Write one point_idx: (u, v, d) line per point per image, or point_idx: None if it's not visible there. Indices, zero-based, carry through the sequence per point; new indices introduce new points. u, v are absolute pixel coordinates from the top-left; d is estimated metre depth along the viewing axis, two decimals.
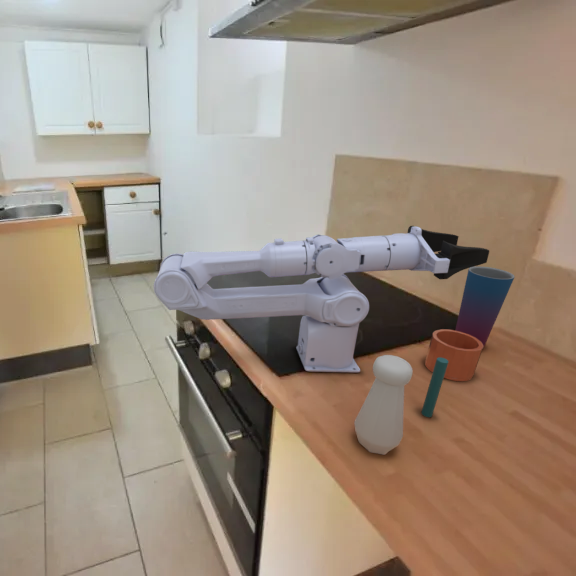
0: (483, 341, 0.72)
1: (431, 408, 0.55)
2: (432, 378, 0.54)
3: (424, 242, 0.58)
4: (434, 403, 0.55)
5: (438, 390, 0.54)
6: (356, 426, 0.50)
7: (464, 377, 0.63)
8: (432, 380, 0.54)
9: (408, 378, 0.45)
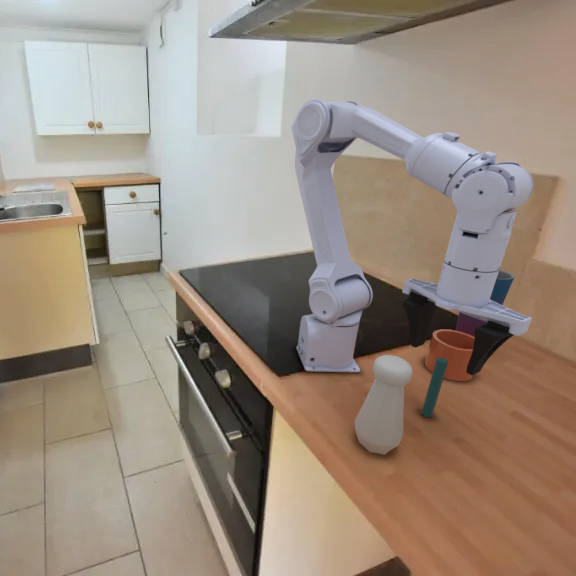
0: None
1: (431, 408, 0.55)
2: (432, 378, 0.54)
3: (429, 296, 0.50)
4: (434, 403, 0.55)
5: (438, 390, 0.54)
6: (356, 426, 0.50)
7: (464, 377, 0.63)
8: (432, 380, 0.54)
9: (408, 378, 0.45)
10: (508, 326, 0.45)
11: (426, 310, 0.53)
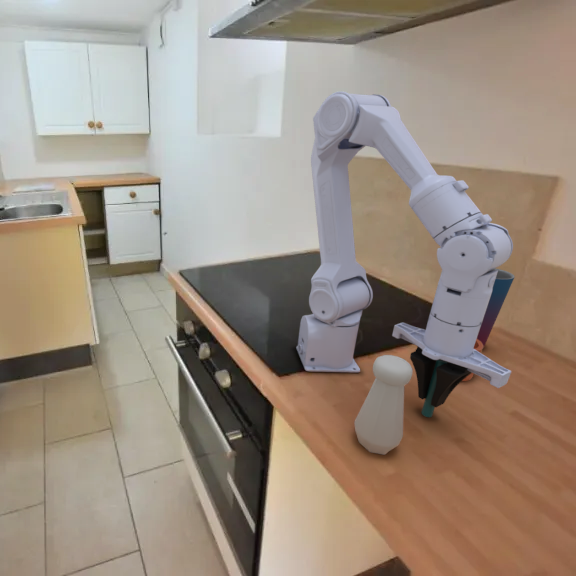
0: (483, 341, 0.72)
1: (431, 408, 0.55)
2: (432, 378, 0.54)
3: (417, 343, 0.53)
4: None
5: None
6: (356, 426, 0.50)
7: None
8: (432, 380, 0.54)
9: (408, 378, 0.45)
10: None
11: (433, 364, 0.54)
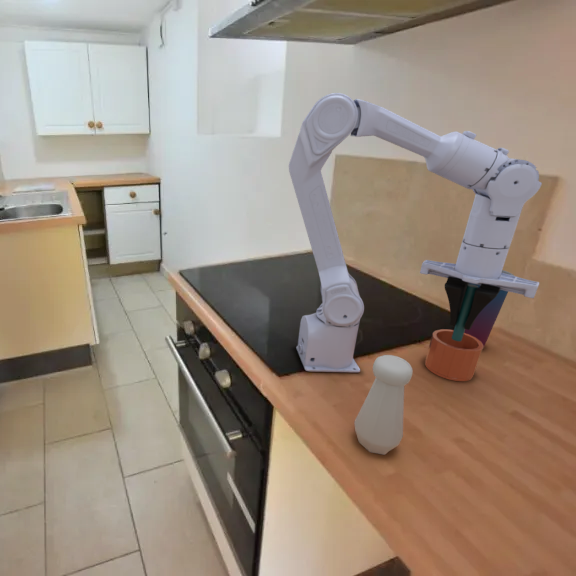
0: (483, 341, 0.72)
1: (462, 332, 0.61)
2: (464, 304, 0.59)
3: (452, 273, 0.58)
4: None
5: None
6: (356, 426, 0.50)
7: (464, 377, 0.63)
8: (464, 306, 0.59)
9: (408, 378, 0.45)
10: (498, 286, 0.56)
11: (464, 291, 0.59)
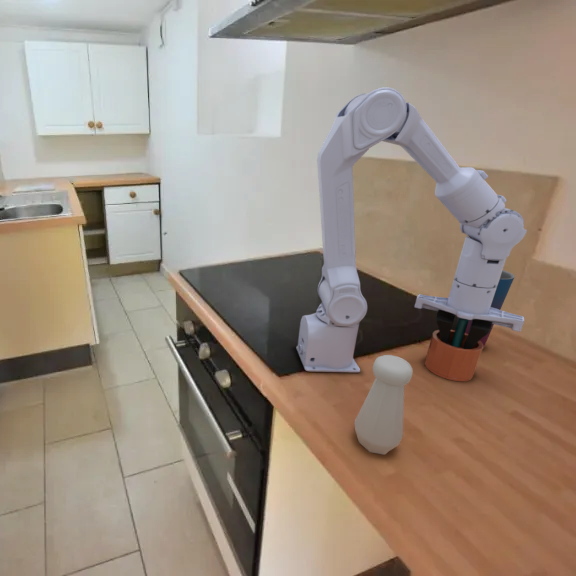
0: (483, 341, 0.72)
1: None
2: (456, 335, 0.64)
3: (446, 309, 0.62)
4: None
5: None
6: (356, 426, 0.50)
7: (464, 377, 0.63)
8: (456, 337, 0.64)
9: (408, 378, 0.45)
10: (490, 320, 0.61)
11: None
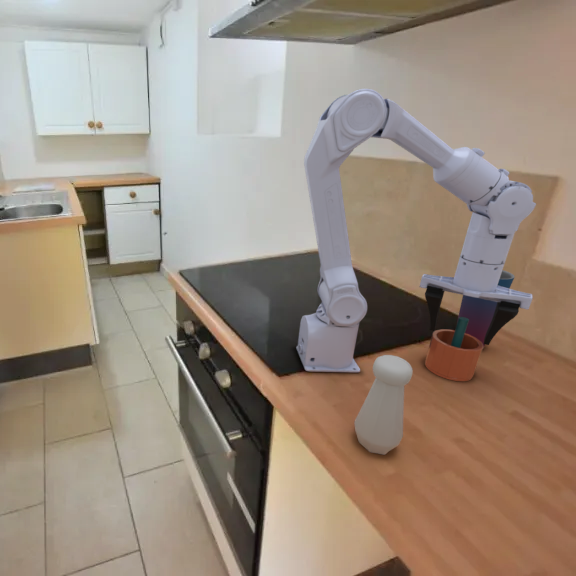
0: (483, 341, 0.72)
1: None
2: (456, 335, 0.64)
3: (452, 288, 0.61)
4: None
5: None
6: (356, 426, 0.50)
7: (464, 377, 0.63)
8: (456, 337, 0.64)
9: (408, 378, 0.45)
10: (517, 303, 0.58)
11: (441, 299, 0.64)
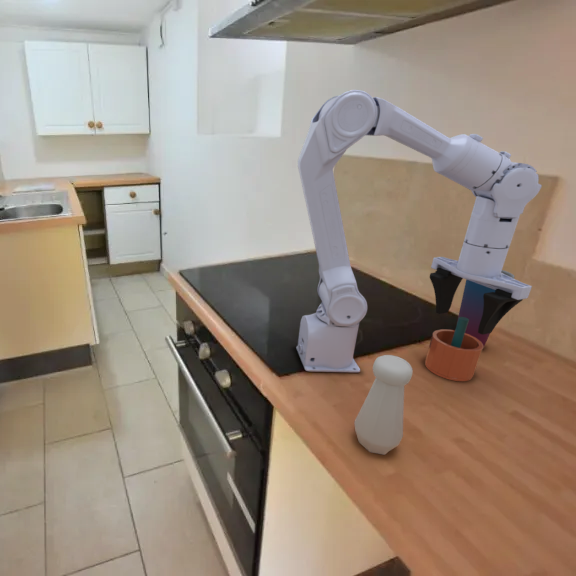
0: (483, 341, 0.72)
1: None
2: (456, 335, 0.64)
3: None
4: None
5: None
6: (356, 426, 0.50)
7: (464, 377, 0.63)
8: (456, 337, 0.64)
9: (408, 378, 0.45)
10: (444, 267, 0.66)
11: None
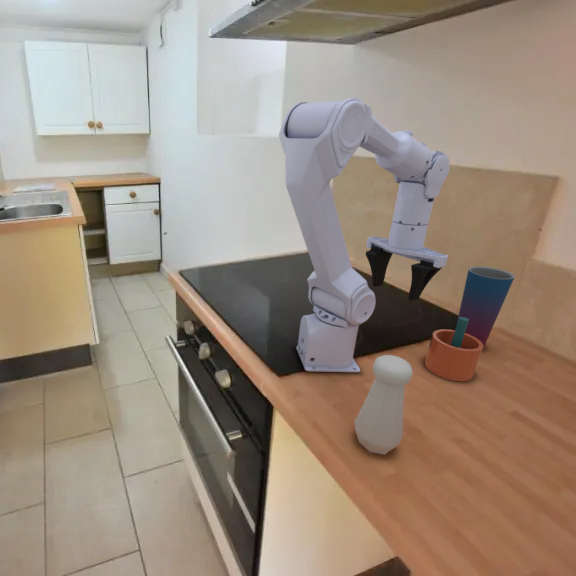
0: (483, 341, 0.72)
1: None
2: (456, 335, 0.64)
3: None
4: None
5: None
6: (356, 426, 0.50)
7: (464, 377, 0.63)
8: (456, 337, 0.64)
9: (408, 378, 0.45)
10: (376, 245, 0.74)
11: None
